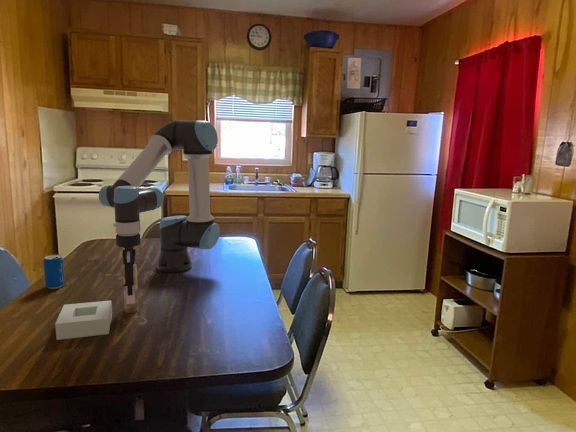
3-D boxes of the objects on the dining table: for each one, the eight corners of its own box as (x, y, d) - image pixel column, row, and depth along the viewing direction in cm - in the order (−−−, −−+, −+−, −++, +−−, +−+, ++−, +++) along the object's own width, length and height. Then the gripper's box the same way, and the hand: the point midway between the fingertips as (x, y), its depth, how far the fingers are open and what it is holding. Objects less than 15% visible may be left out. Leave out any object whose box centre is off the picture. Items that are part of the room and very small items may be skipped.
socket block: (112, 314, 138) (111, 300, 137) (108, 333, 125) (108, 318, 124) (65, 319, 134) (63, 304, 133) (56, 339, 121) (55, 323, 120)
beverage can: (56, 290, 157) (54, 260, 154) (41, 288, 158) (39, 258, 155) (68, 284, 163) (66, 255, 160) (54, 282, 164) (51, 253, 162)
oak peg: (138, 306, 145) (136, 262, 141) (138, 312, 141) (136, 266, 137) (124, 308, 143) (122, 263, 140) (124, 313, 139) (122, 267, 136)
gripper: (117, 227, 144) (120, 289, 149) (113, 241, 126) (117, 312, 131) (140, 226, 147) (142, 287, 151) (139, 240, 129) (142, 309, 133)
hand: (131, 299), depth 141 cm, fingers open, 7 cm apart
